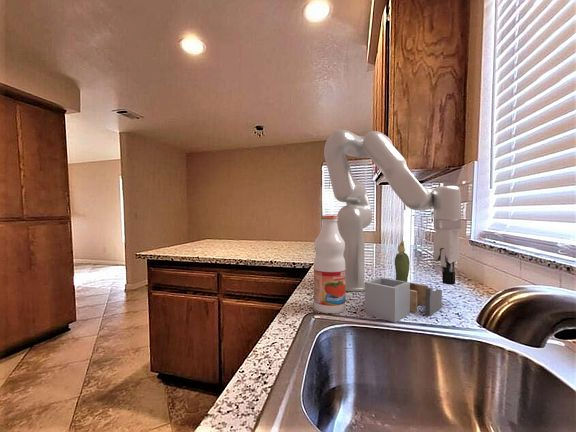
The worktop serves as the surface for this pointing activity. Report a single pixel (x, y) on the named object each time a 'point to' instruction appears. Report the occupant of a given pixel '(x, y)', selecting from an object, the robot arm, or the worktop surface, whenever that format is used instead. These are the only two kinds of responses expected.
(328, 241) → the fruit juice
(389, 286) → the grey open box
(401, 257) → the vegetable
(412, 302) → the holder
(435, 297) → the grey square panel
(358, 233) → the robot arm
